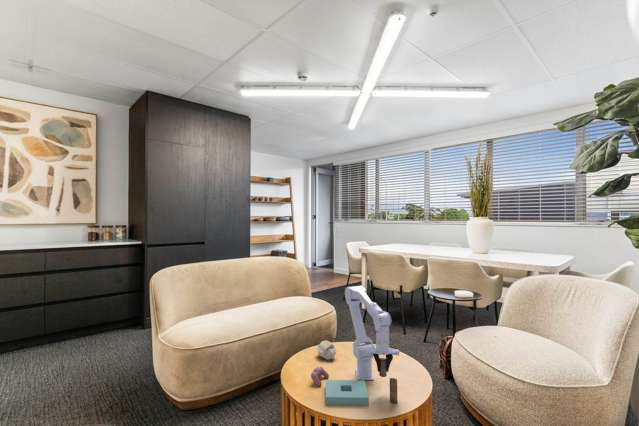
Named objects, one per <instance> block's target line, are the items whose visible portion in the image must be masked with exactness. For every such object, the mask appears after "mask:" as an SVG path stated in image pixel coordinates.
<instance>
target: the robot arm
mask: <svg viewBox="0 0 639 426" xmlns="http://www.w3.org/2000/svg"><path fill="white" fill-rule="evenodd" d="M344 298H345V301H346V304H347V305H348V307H349V312H350V316H351V319H352V321H351V322H352V324H353V328H354V329H353V330H354V333H355V339H354V341H353V343H352V347H353V348H352V349H353V350H352V352H353V356H354V358H355V359H356V369H355V375H356V380H365V381H373V380H374V379H375V378H374V375H373V371H372V370H373V368H372V367H373V365H372V364H373V362H372V361H373V359H374V361H375V364H376V369H377V372H378V373H379V372H380V366H379V363H380V358H381V357H380V356H385V359H386V370H387V373H388V372H389V369H390V365H391V363H392V361H393V358H394V355H395V356H400V350H399V349H397V348H390V326H391V324H392V322H393V321H392V317H391V315H390V313H389V312H388V311H384V310H383V309H382V308H381V307H380V306H379V305H378V304H377V302H373V301H372V300H371V298H370V297H369V296H368V294H367V289H366V288H365V287H364V285H356V286H354V285H353V286H346V287H345V290H344ZM361 303H362V304H363V305H364V306H365V307H366V312H367V313H368V314H369V316H370V317H371V318H372V321H373V322H372V323H373V325H374V329H375V345H374V344H373V340H372V339H371V338H370V337H368V336H367V333H366V329H365V325H364V320H363V317H362V314H361V309H360V304H361Z"/></svg>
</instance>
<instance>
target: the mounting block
mask: <svg viewBox="0 0 639 426" xmlns="http://www.w3.org/2000/svg"><path fill="white" fill-rule="evenodd" d="M368 394H369V393H368V390H367V384H366V380H357V379H354V380H353V379H352V380H351V379H346V380H345V379H325V405H336V406H337V405H340V406H341V405H343V406H347V405H348V406H369V404H370V403H369V402H370V401H369V400H370V399H369V395H368Z"/></svg>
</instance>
